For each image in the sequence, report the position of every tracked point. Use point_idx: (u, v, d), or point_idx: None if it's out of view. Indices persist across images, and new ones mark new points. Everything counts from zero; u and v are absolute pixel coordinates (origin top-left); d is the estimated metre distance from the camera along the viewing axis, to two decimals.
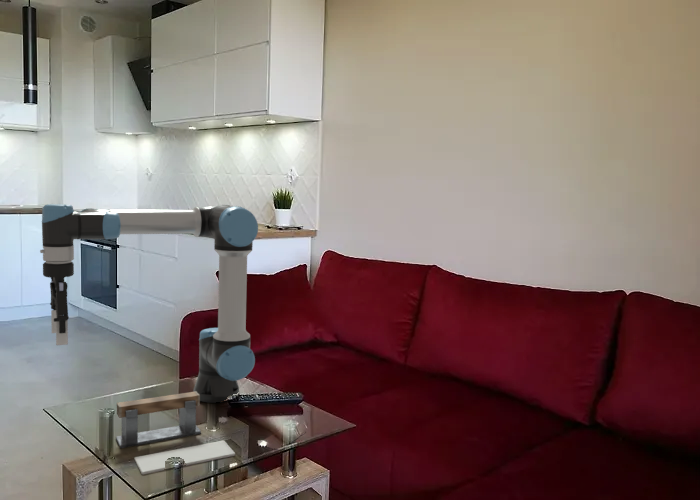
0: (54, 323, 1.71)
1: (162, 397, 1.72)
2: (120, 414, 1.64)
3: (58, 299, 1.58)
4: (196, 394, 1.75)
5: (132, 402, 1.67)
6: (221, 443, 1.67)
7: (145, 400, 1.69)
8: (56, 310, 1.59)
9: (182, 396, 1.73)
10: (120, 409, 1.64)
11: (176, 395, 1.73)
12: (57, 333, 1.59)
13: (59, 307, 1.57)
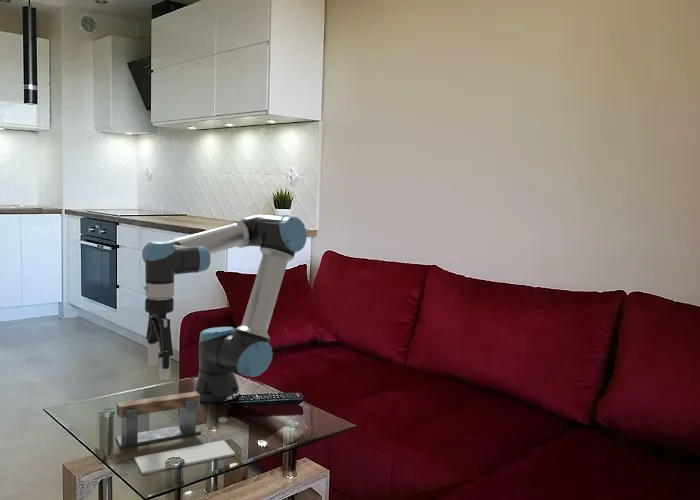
0: (151, 356, 1.74)
1: (162, 397, 1.72)
2: (120, 414, 1.64)
3: (163, 335, 1.61)
4: (196, 394, 1.75)
5: (132, 402, 1.67)
6: (221, 443, 1.67)
7: (145, 400, 1.69)
8: (160, 346, 1.62)
9: (182, 396, 1.73)
10: (120, 409, 1.64)
11: (176, 395, 1.73)
12: (161, 368, 1.62)
13: (164, 343, 1.60)
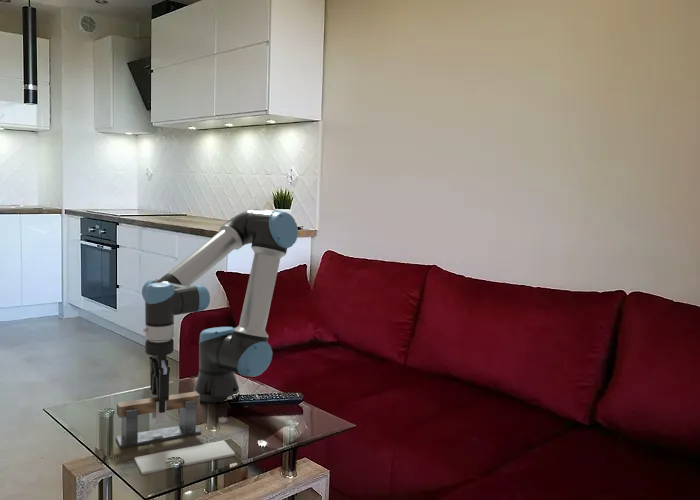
0: None
1: None
2: (120, 414, 1.64)
3: (161, 383, 1.65)
4: (196, 394, 1.75)
5: (132, 402, 1.67)
6: (221, 443, 1.67)
7: (145, 400, 1.69)
8: (157, 391, 1.67)
9: (182, 396, 1.73)
10: (120, 409, 1.64)
11: (176, 395, 1.73)
12: (157, 412, 1.68)
13: (161, 390, 1.65)
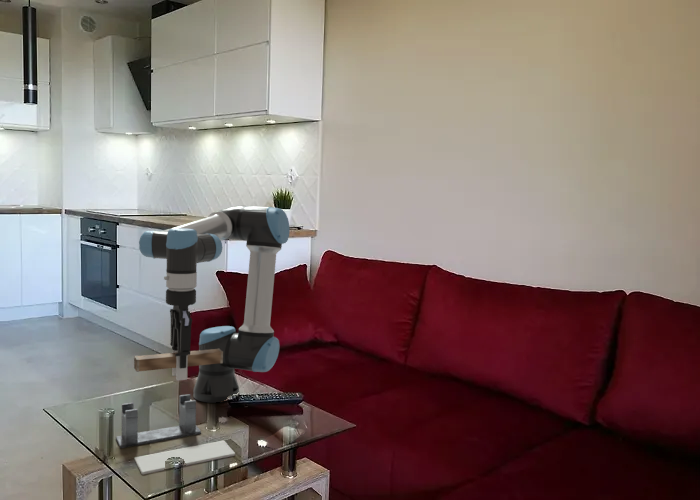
0: None
1: None
2: (138, 368, 1.52)
3: (182, 335, 1.52)
4: (219, 351, 1.62)
5: (151, 356, 1.55)
6: (221, 443, 1.67)
7: (164, 355, 1.57)
8: (178, 344, 1.55)
9: (204, 352, 1.61)
10: (138, 362, 1.51)
11: (197, 351, 1.61)
12: (177, 368, 1.56)
13: (182, 343, 1.53)
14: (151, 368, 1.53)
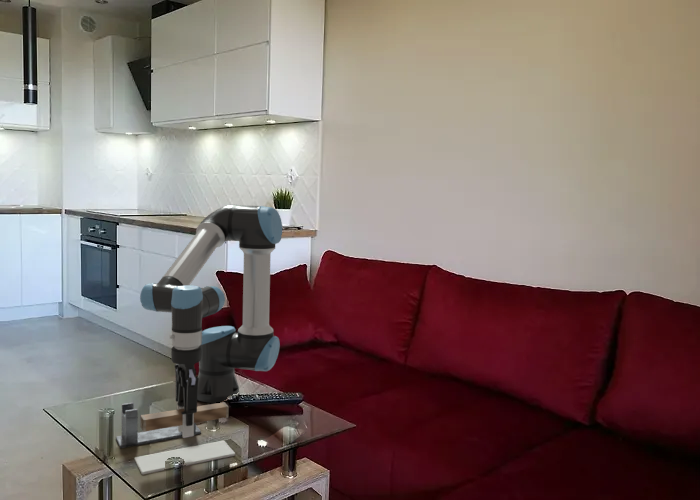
0: None
1: None
2: (144, 428, 1.51)
3: (189, 394, 1.52)
4: (224, 405, 1.63)
5: (157, 414, 1.55)
6: (221, 443, 1.67)
7: (171, 412, 1.57)
8: (184, 402, 1.55)
9: (210, 407, 1.61)
10: (144, 422, 1.51)
11: (203, 407, 1.61)
12: (184, 425, 1.56)
13: (189, 402, 1.53)
14: (158, 427, 1.53)
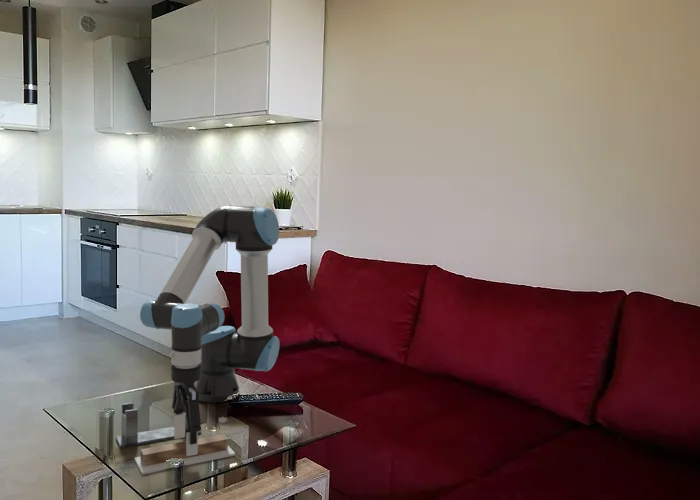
0: (177, 428, 1.63)
1: None
2: (144, 462, 1.53)
3: (191, 409, 1.51)
4: (224, 438, 1.64)
5: (157, 448, 1.56)
6: None
7: (170, 446, 1.58)
8: (187, 420, 1.53)
9: (209, 440, 1.62)
10: (144, 457, 1.52)
11: (203, 440, 1.62)
12: (188, 444, 1.53)
13: (192, 418, 1.51)
14: (158, 461, 1.54)
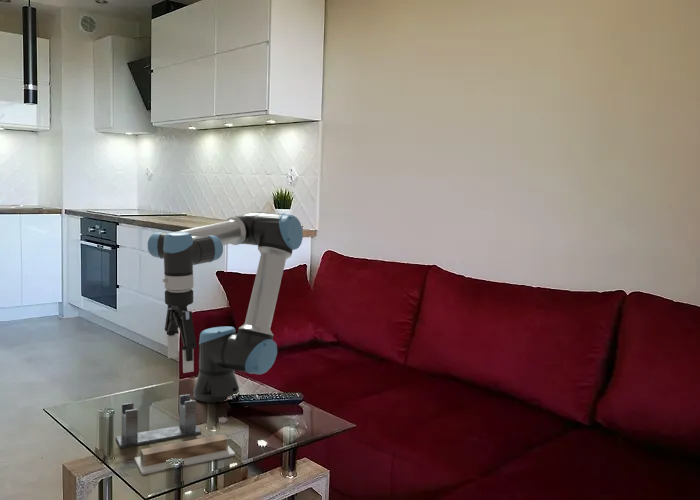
0: (171, 348, 1.73)
1: (188, 442, 1.60)
2: (144, 462, 1.53)
3: (186, 328, 1.60)
4: (224, 438, 1.64)
5: (157, 448, 1.56)
6: None
7: (170, 446, 1.58)
8: (183, 338, 1.61)
9: (209, 440, 1.62)
10: (144, 457, 1.52)
11: (203, 440, 1.62)
12: (184, 361, 1.61)
13: (187, 336, 1.59)
14: (158, 461, 1.54)
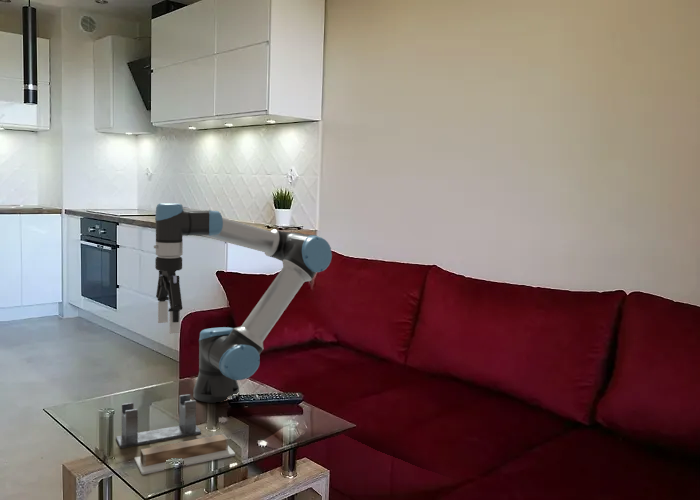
0: (161, 313, 1.84)
1: (188, 442, 1.60)
2: (144, 462, 1.53)
3: (173, 291, 1.71)
4: (224, 438, 1.64)
5: (157, 448, 1.56)
6: None
7: (170, 446, 1.58)
8: (170, 301, 1.72)
9: (209, 440, 1.62)
10: (144, 457, 1.52)
11: (203, 440, 1.62)
12: (171, 322, 1.73)
13: (174, 298, 1.71)
14: (158, 461, 1.54)
